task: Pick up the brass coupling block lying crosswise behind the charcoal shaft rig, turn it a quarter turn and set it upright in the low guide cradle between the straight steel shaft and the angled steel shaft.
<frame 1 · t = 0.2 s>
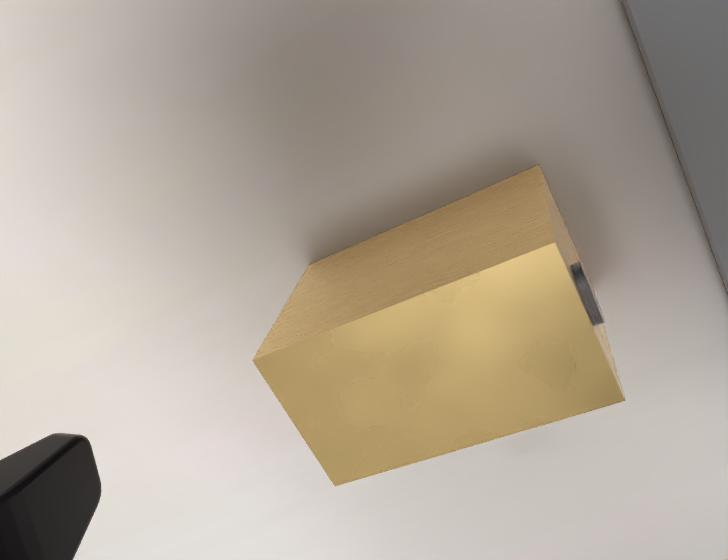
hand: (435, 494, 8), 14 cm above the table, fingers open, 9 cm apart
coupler: (446, 275, 22), on the table
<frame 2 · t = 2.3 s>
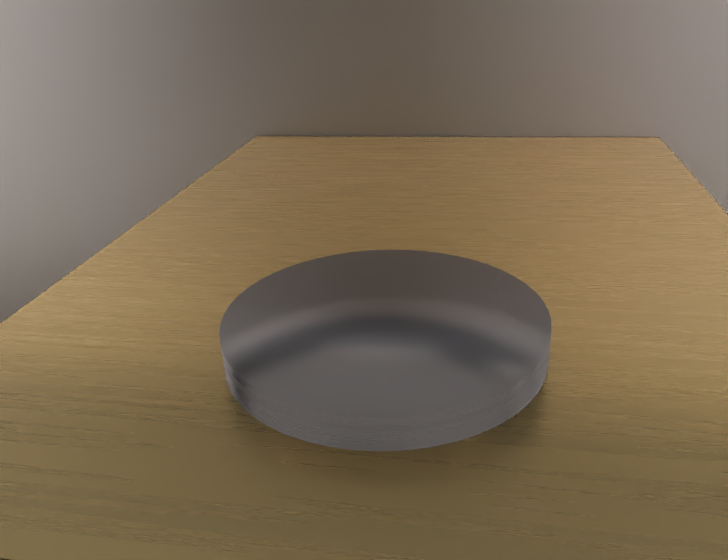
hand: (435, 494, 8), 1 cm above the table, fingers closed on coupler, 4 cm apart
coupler: (443, 431, 9), on the table, touching gripper
when the fingers open (4 cm above the table, at t = 6.0 s): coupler drops 1 cm, resting on shaft rig.
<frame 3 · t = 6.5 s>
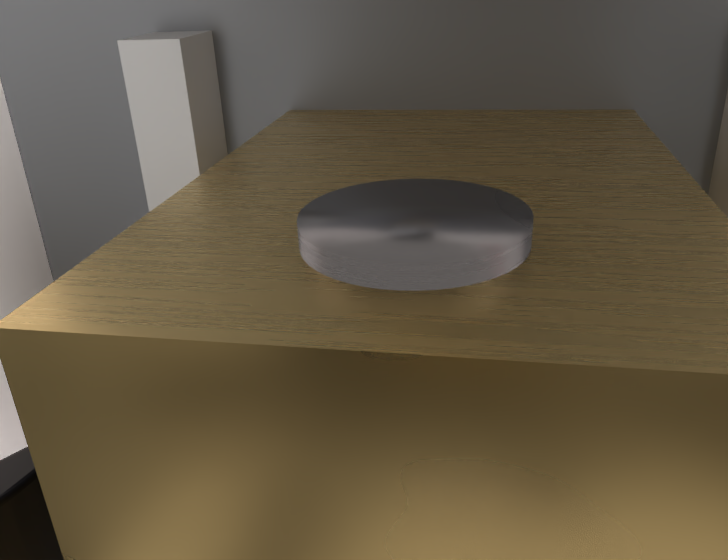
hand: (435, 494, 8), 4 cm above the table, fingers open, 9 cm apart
shaft rig: (455, 336, 11), on the table
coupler: (448, 371, 10), point 1 cm above the table, touching shaft rig
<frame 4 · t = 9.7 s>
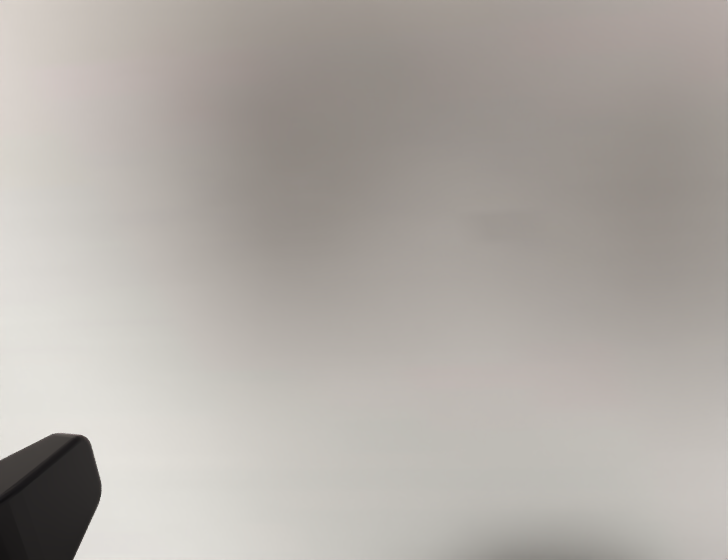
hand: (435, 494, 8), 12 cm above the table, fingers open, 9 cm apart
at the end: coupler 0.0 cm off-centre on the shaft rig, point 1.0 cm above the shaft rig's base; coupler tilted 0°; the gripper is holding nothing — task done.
